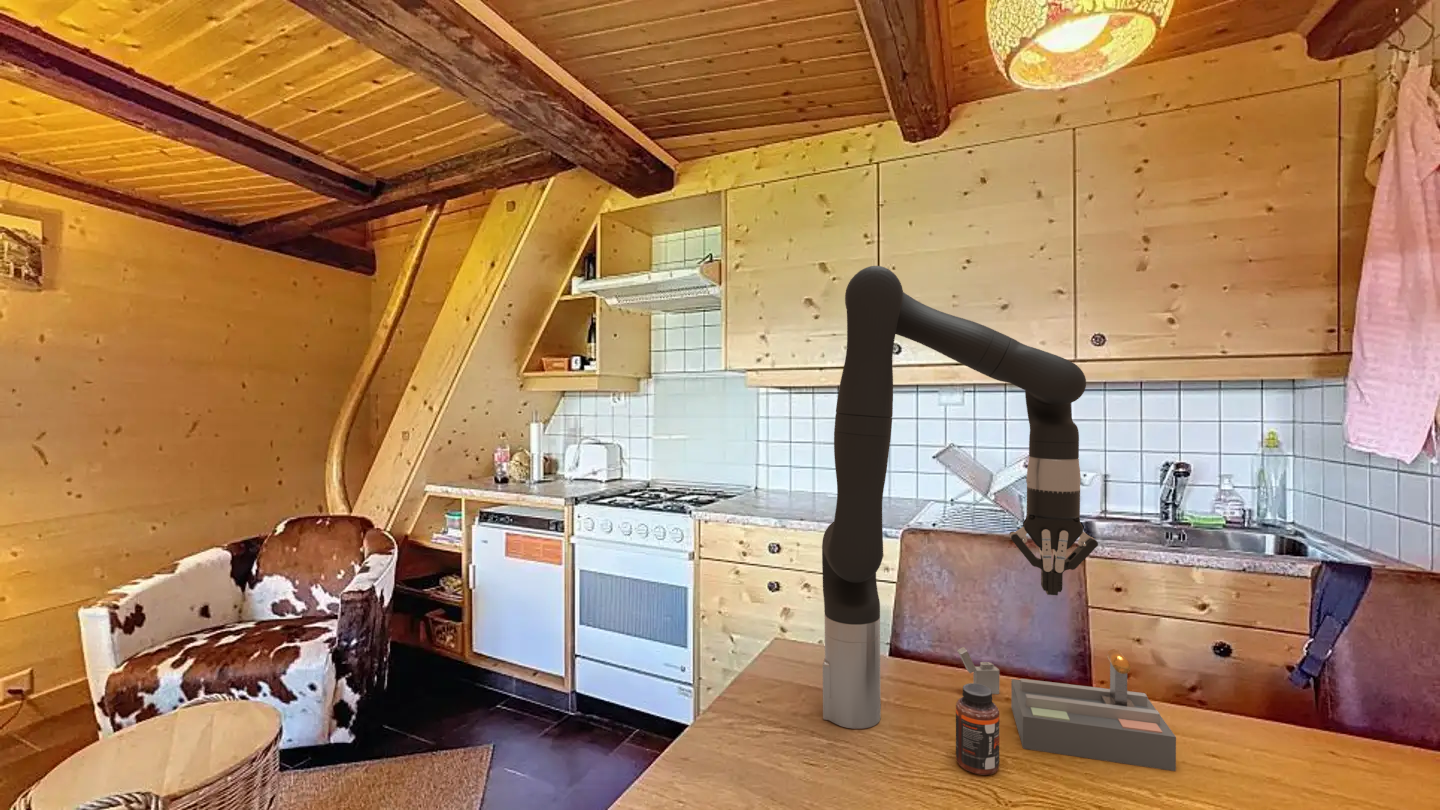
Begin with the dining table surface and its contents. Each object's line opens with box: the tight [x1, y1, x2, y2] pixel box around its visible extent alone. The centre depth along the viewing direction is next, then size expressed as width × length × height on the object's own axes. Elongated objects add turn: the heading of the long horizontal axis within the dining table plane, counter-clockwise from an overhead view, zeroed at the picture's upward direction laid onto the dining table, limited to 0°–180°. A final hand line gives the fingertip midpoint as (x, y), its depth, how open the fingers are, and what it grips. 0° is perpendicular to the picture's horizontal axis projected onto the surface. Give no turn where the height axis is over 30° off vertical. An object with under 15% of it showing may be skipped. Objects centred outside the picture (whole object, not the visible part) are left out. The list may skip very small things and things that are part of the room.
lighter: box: [956, 646, 1000, 695], centre depth 115 cm, size 7×2×8 cm, turn 89°
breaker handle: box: [1101, 648, 1136, 708], centre depth 98 cm, size 4×4×8 cm
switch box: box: [1010, 678, 1177, 772], centre depth 99 cm, size 20×13×7 cm, turn 72°
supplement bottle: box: [955, 682, 1000, 776], centre depth 92 cm, size 6×6×11 cm
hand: (1051, 593), depth 101 cm, fingers closed
